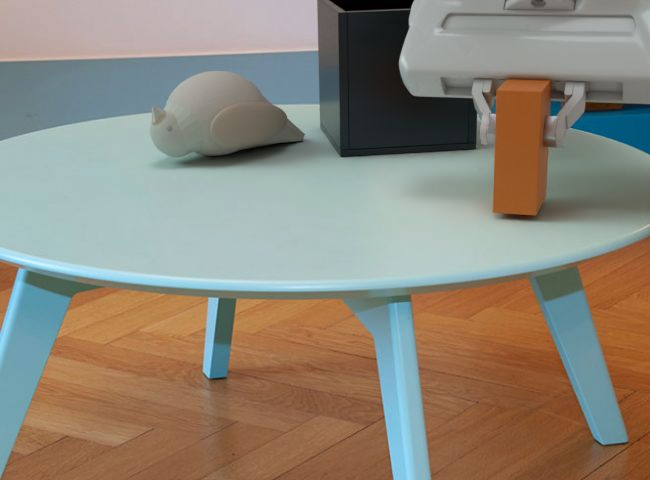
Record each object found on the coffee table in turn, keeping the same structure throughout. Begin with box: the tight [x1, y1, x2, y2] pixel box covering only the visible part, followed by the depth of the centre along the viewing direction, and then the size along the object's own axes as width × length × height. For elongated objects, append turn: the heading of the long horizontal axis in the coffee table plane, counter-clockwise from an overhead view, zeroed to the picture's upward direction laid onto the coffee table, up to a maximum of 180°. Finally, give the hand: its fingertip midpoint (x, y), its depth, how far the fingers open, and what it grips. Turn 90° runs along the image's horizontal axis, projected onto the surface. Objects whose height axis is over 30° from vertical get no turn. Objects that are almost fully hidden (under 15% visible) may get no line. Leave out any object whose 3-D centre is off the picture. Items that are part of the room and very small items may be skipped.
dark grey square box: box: [316, 0, 478, 158], centre depth 106 cm, size 13×13×13 cm
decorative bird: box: [149, 70, 306, 158], centre depth 103 cm, size 9×16×8 cm, turn 134°
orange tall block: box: [492, 79, 552, 216], centre depth 83 cm, size 3×5×9 cm, turn 162°
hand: (521, 142), depth 83 cm, fingers closed on orange tall block, 3 cm apart
